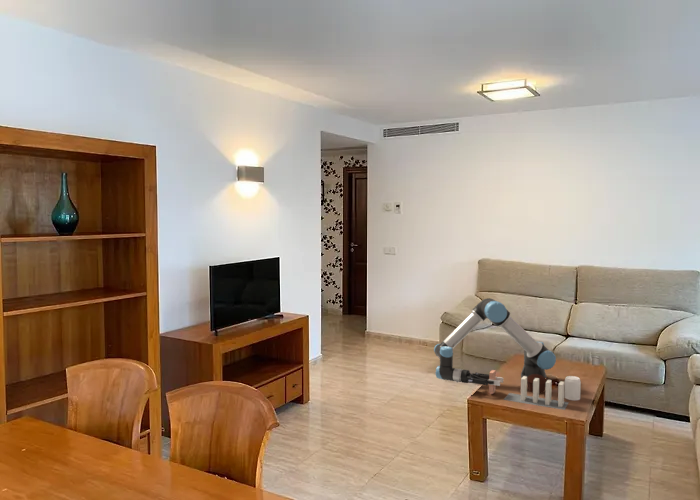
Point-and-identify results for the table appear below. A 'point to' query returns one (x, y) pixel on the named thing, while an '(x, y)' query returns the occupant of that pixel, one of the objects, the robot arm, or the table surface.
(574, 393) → the beverage can
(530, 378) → the muffin
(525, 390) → the domino
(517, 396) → the mat
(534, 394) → the domino
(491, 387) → the domino
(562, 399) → the domino
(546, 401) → the domino
